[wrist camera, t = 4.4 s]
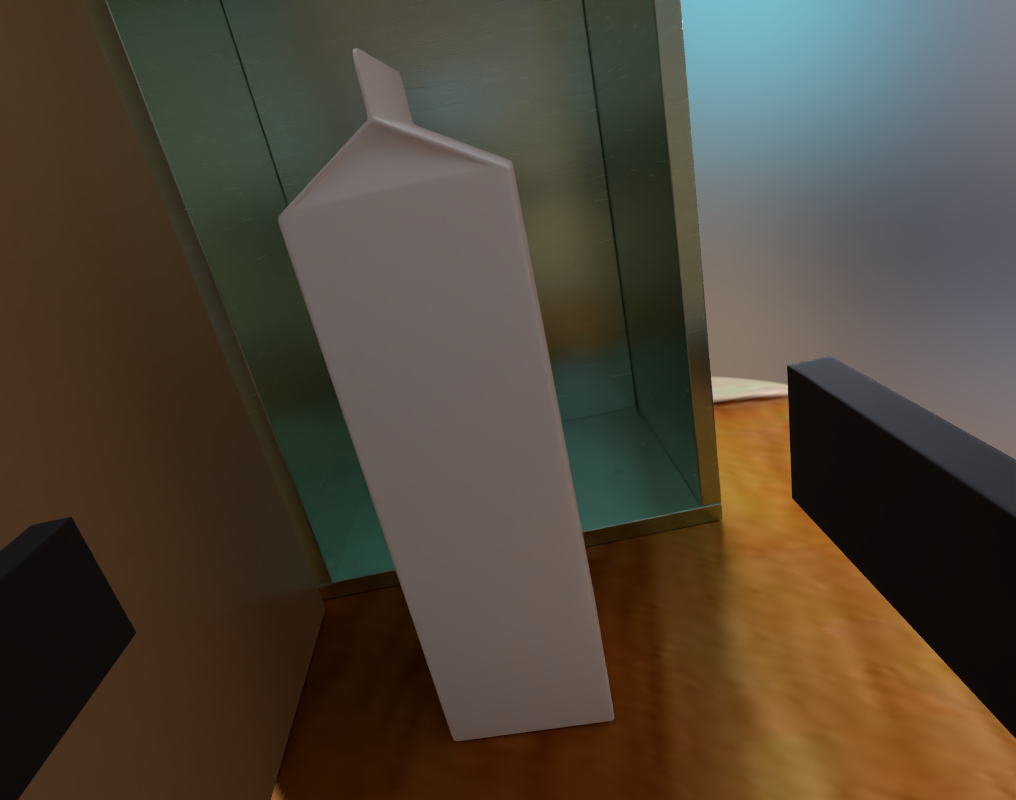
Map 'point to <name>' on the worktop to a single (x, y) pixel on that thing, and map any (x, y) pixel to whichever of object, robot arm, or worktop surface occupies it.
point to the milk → (453, 413)
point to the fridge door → (136, 444)
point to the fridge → (544, 203)
